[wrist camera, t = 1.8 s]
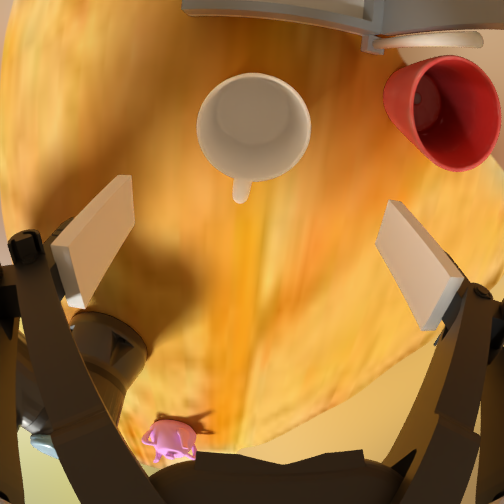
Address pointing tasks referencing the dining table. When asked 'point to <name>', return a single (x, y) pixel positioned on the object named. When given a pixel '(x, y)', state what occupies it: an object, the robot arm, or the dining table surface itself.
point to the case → (373, 18)
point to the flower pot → (445, 110)
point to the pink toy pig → (171, 439)
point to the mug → (253, 129)
